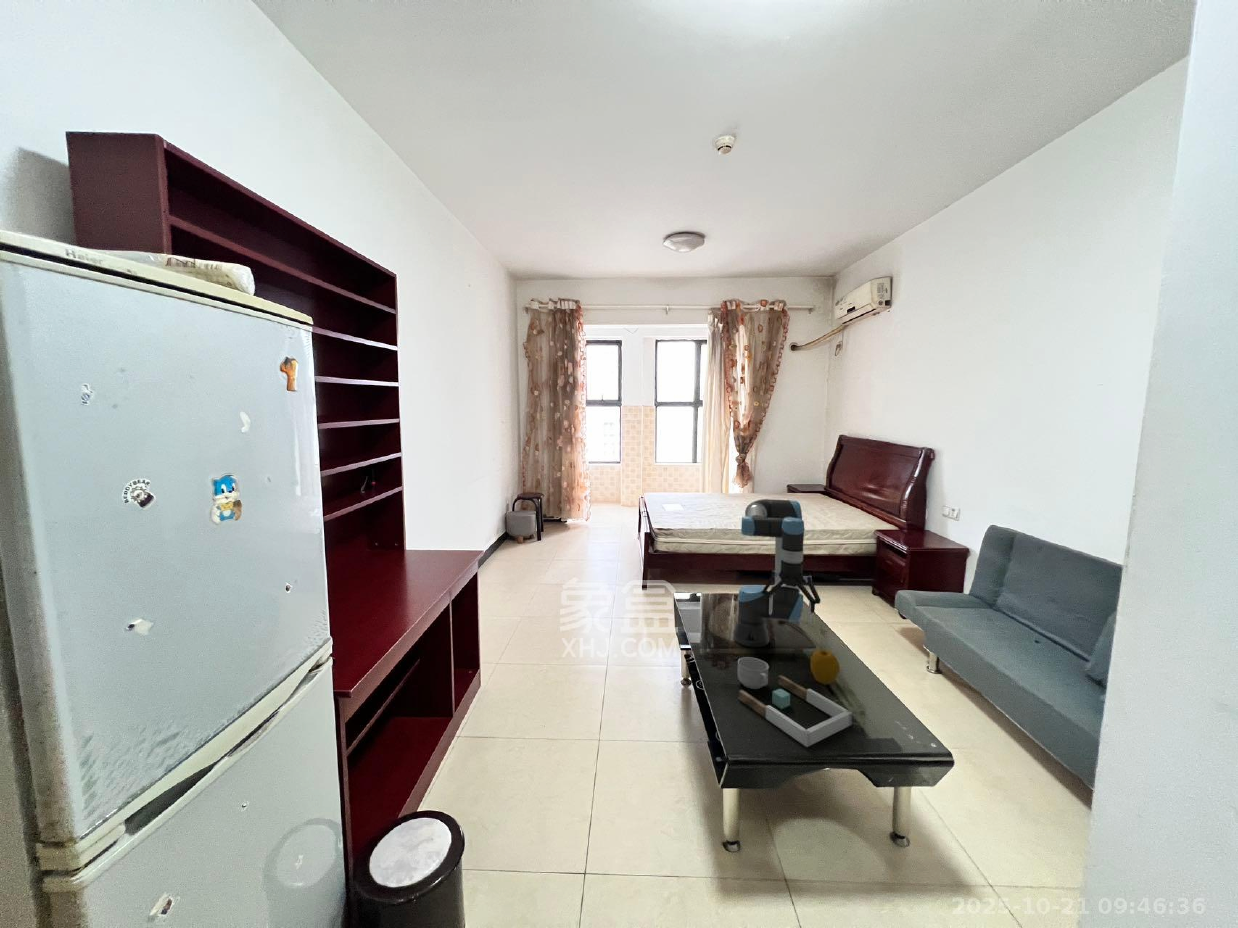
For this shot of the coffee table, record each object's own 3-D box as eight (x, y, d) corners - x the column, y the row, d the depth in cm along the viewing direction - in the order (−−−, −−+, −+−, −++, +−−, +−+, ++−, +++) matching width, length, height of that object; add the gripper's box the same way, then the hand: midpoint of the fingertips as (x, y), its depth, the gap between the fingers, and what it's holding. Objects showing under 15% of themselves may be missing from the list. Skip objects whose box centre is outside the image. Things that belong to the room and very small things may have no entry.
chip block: (772, 702, 157) (772, 691, 156) (780, 699, 159) (780, 688, 158) (781, 709, 153) (781, 697, 153) (789, 705, 155) (790, 694, 155)
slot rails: (738, 699, 159) (738, 690, 158) (781, 682, 169) (781, 675, 169) (765, 718, 148) (765, 709, 148) (809, 699, 159) (809, 691, 158)
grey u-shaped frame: (765, 718, 148) (766, 706, 148) (809, 699, 159) (809, 688, 158) (806, 747, 135) (807, 734, 134) (851, 724, 145) (852, 712, 145)
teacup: (733, 677, 173) (733, 656, 172) (761, 676, 174) (761, 655, 173) (746, 698, 159) (747, 676, 158) (777, 697, 160) (777, 675, 159)
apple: (842, 681, 170) (844, 651, 169) (832, 692, 163) (833, 660, 162) (816, 671, 177) (817, 642, 176) (805, 681, 170) (806, 650, 169)
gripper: (754, 558, 172) (753, 613, 174) (828, 568, 160) (825, 627, 162) (758, 553, 179) (757, 606, 181) (829, 562, 167) (827, 619, 169)
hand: (789, 616), depth 171 cm, fingers open, 13 cm apart
